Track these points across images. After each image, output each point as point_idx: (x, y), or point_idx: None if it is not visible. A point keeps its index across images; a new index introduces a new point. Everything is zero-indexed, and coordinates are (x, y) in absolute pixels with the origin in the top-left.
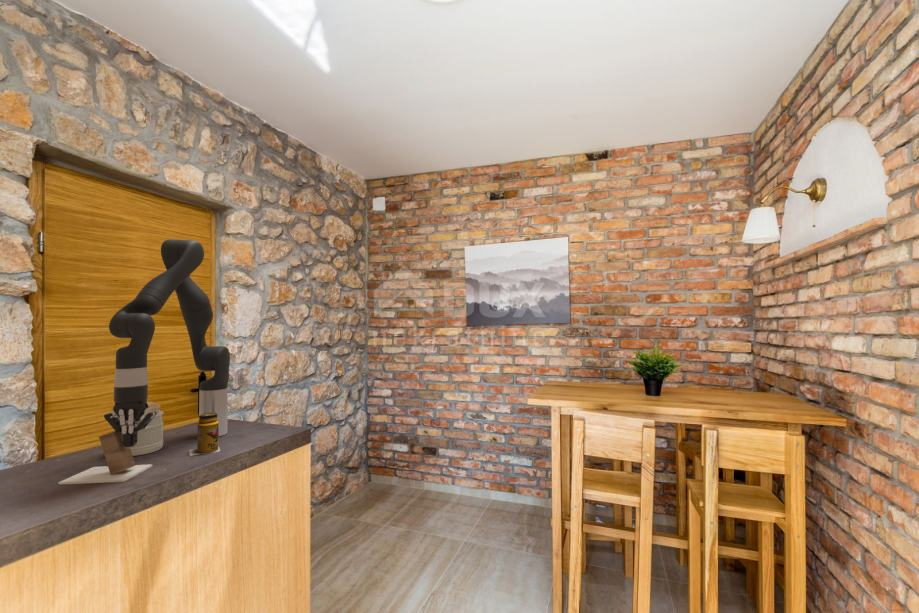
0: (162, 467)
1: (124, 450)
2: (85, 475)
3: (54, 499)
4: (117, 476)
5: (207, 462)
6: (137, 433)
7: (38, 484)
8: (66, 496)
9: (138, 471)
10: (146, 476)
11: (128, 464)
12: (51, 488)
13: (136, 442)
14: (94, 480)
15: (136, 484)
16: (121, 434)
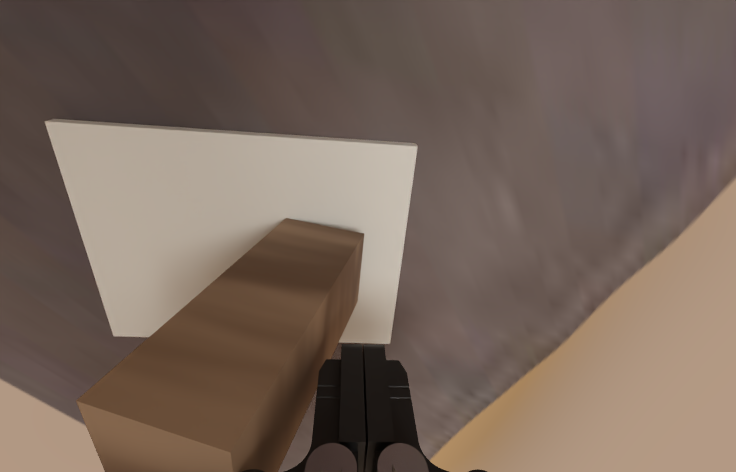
0: (482, 172)
1: (323, 342)
2: (156, 271)
3: None
4: None
5: (722, 126)
6: (417, 438)
7: (12, 312)
8: None
9: (399, 257)
10: (454, 292)
11: (354, 287)
12: None
13: (401, 371)
14: None
15: (454, 365)
16: (264, 438)
